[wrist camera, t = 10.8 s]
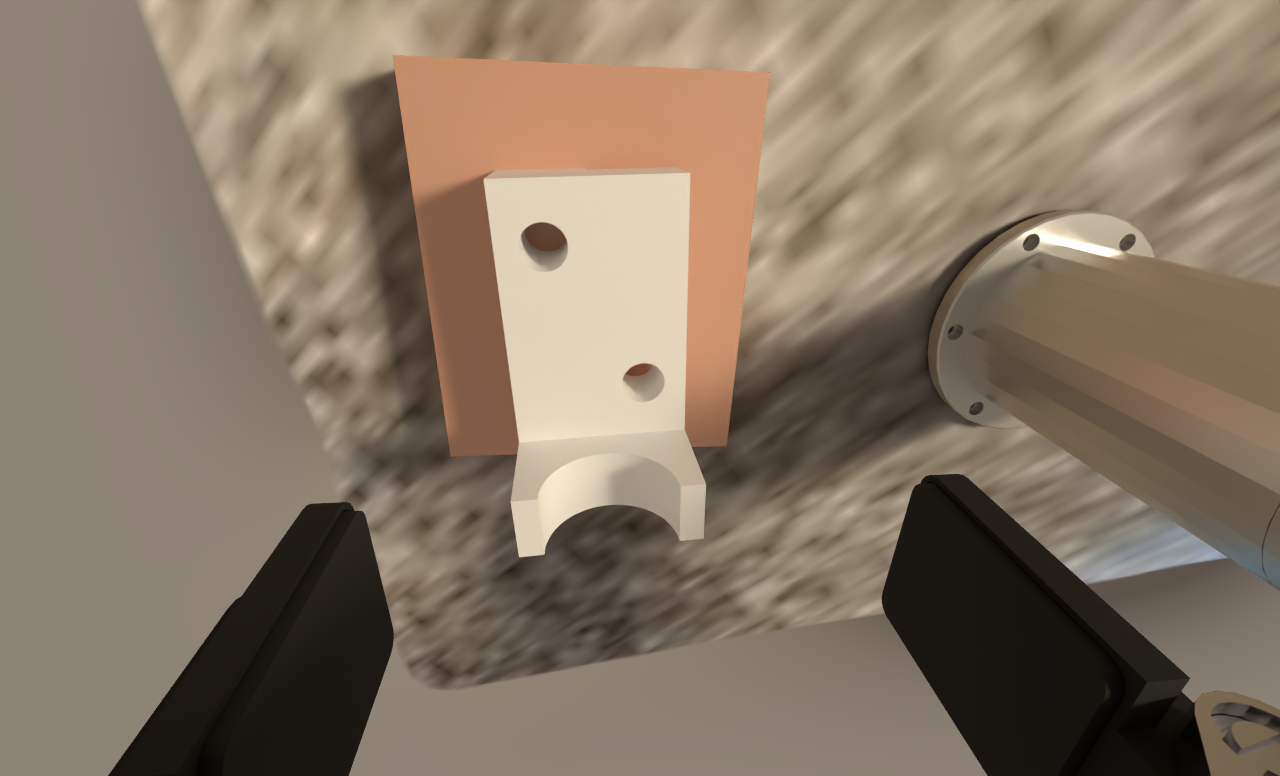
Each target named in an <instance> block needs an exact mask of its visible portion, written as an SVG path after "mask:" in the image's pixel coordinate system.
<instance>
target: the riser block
mask: <svg viewBox="0 0 1280 776" xmlns="http://www.w3.org/2000/svg"><path fill="white" fill-rule="evenodd" d="M393 61H394V68H395V75H396V82H397V89H398V96H399V103H400V110H401V117H402V124H403V131H404V137H405V144H406V151H407V158H408V165H409V172H410V179H411V186H412V193H413V200H414V207H415V214H416V221H417V228H418V234H419V241H420V248H421V255H422V262H423V269H424V276H425V283H426V290H427V297H428V304H429V311H430V318H431V325H432V331H433V338H434V345H435V352H436V359H437V366H438V373H439V380H440V387H441V394H442V401H443V408H444V415H445V422H446V429H447V435H448V442H449V449H450V456H451V457H462V456H487V455H513V454H517V453H518V446H519V438H518V431H517V424H516V416H515V409H514V402H513V394H512V387H511V379H510V372H509V365H508V357H507V350H506V342H505V335H504V328H503V320H502V313H501V305H500V298H499V291H498V283H497V276H496V268H495V261H494V254H493V246H492V239H491V231H490V224H489V217H488V209H487V202H486V195H485V187H484V180H483V179H484V178H485V177H487V176H488V175H490V174H491V173H492V172H494V171H495V170H527V169H564V168H586V170H596V169H631V168H667V167H677V168H680V169H682V170H685V171H687V172H690V211H689V255H688V300H687V344H686V389H685V432H686V434H687V437H688V439H689V442H690V444H691V447H714V446H727V439H728V431H729V422H730V413H731V405H732V396H733V387H734V379H735V370H736V361H737V353H738V344H739V336H740V327H741V318H742V310H743V301H744V292H745V284H746V275H747V266H748V258H749V249H750V241H751V232H752V223H753V215H754V206H755V197H756V189H757V180H758V172H759V163H760V154H761V146H762V137H763V128H764V120H765V111H766V102H767V94H768V85H769V77H770V73H769V72H747V71H725V70H704V69H682V68H660V67H638V66H617V65H595V64H573V63H551V62H529V61H508V60H486V59H464V58H442V57H421V56H399V55H393ZM525 235H526V238H527V240H528V241H529V243H530V244H531V245H532V246H533V247H535V248H536V249H538V250H541V251H553V250H556V249H558V248H559V247H561V246H562V245H563V243H564V242H565V240H566V237H565V235H564V234H563V232H562V231H561V230H560V229H559V228H558V227H556V226H555V225H553V224H550V223H546V222H538V223H534V224H531V225H530V226H528V227H527V228H526V229H525ZM652 367H653V365H652V364H648V363H641V364H637V365H635V366H633V367H631V368H630V369H629V370H628V371H627V372H626V373H625V374H627V375H630V376H640V375H643V374H645V373H647V372H648V371H649V370H650V369H651V368H652Z"/></svg>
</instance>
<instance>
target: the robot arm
mask: <svg viewBox="0 0 1280 776" xmlns="http://www.w3.org/2000/svg"><path fill="white" fill-rule="evenodd" d="M928 363H929V372H930V375H931V378H932V381H933V384H934V387H935V388H936V390H937V392H938V393H939V395H940V396H941V398H942V400H944V401H945V402H946V403H947V404H948V405H949V406H950V407H951V408H952V409H953V410H954V411H956V412H957V413H959V414H960V415H961V416H963V417H964V418H966V419H967V420H969V421H972V422H974V423H977V424H979V425H982V426H986V427H992V428H999V429H1007V428H1021V427H1026V426H1029V427H1030V428H1032V429H1033V430H1035V431H1036V432H1038V433H1039V434H1041V435H1042V436H1044V437H1045V438H1047V439H1049V440H1050V441H1052V442H1053V443H1055V444H1056V445H1058V446H1059V447H1061V448H1062V449H1064V450H1065V451H1067V452H1068V453H1070V454H1071V455H1073V456H1074V457H1076V458H1077V459H1079V460H1080V461H1082V462H1083V463H1085V464H1087V465H1088V466H1090V467H1091V468H1093V469H1094V470H1096V471H1097V472H1099V473H1100V474H1102V475H1103V476H1105V477H1106V478H1108V479H1109V480H1111V481H1112V482H1114V483H1115V484H1117V485H1118V486H1120V487H1121V488H1123V489H1125V490H1126V491H1128V492H1129V493H1131V494H1132V495H1134V496H1135V497H1137V498H1138V499H1140V500H1141V501H1143V502H1144V503H1146V504H1147V505H1149V506H1150V507H1152V508H1153V509H1155V510H1156V511H1158V512H1159V513H1161V514H1163V515H1164V516H1166V517H1167V518H1169V519H1170V520H1172V521H1173V522H1175V523H1176V524H1178V525H1179V526H1181V527H1182V528H1184V529H1185V530H1187V531H1188V532H1190V533H1191V534H1193V535H1194V536H1196V537H1198V538H1199V539H1201V540H1202V541H1204V542H1205V543H1207V544H1208V545H1210V546H1211V547H1213V548H1214V549H1216V550H1217V551H1219V552H1220V553H1222V554H1223V555H1225V556H1226V557H1228V558H1229V559H1231V560H1233V561H1235V562H1236V563H1238V564H1239V565H1241V566H1242V567H1243V568H1245V569H1246V570H1248V571H1249V572H1251V573H1253V574H1254V575H1256V576H1257V577H1259V578H1261V579H1262V580H1263V581H1265V582H1267V583H1268V584H1270V585H1271V586H1273V587H1274V588H1276V589H1277V590H1279V591H1280V287H1278V286H1274V285H1270V284H1265V283H1261V282H1256V281H1252V280H1248V279H1243V278H1239V277H1235V276H1230V275H1226V274H1222V273H1217V272H1213V271H1208V270H1204V269H1200V268H1195V267H1191V266H1187V265H1182V264H1178V263H1174V262H1169V261H1165V260H1160V259H1156V258H1155V256H1154V253H1153V250H1152V247H1151V245H1150V244H1149V242H1148V241H1147V239H1146V238H1145V236H1144V235H1143V233H1142V232H1141V231H1140V230H1139V229H1138V228H1136V227H1135V226H1134V225H1133V224H1131V223H1130V222H1129V221H1128V220H1125V219H1123V218H1120V217H1118V216H1115V215H1113V214H1110V213H1105V212H1099V211H1093V210H1087V209H1064V210H1059V211H1054V212H1049V213H1044V214H1041V215H1039V216H1036V217H1034V218H1031V219H1029V220H1026V221H1024V222H1021V223H1019V224H1018V225H1016V226H1014V227H1013V228H1011V229H1009V230H1007V231H1006V232H1004V233H1002V234H1001V235H999V236H998V237H997V238H995V239H994V240H993V241H992V242H990V243H989V244H988V245H987V246H985V247H984V248H983V249H982V250H980V251H979V252H978V253H977V254H976V255H975V256H974V258H973V259H972V260H971V261H970V262H969V263H968V264H967V265H966V266H965V267H964V268H963V269H962V270H961V272H960V273H959V275H958V276H957V277H956V279H955V280H954V282H953V283H952V285H951V286H950V287H949V289H948V290H947V292H946V294H945V296H944V298H943V300H942V302H941V304H940V306H939V308H938V310H937V312H936V316H935V319H934V322H933V325H932V328H931V331H930V338H929V346H928ZM882 605H883V609H884V612H885V614H886V616H887V618H888V619H889V621H890V623H891V624H892V625H893V627H894V629H895V630H896V632H897V634H898V635H899V637H900V638H901V640H902V641H903V643H904V644H905V646H906V648H907V649H908V651H909V652H910V654H911V656H912V657H913V659H914V660H915V662H916V663H917V665H918V667H919V668H920V670H921V671H922V673H923V675H924V676H925V678H926V679H927V681H928V682H929V684H930V686H931V687H932V688H933V690H934V692H935V693H936V695H937V697H938V698H939V700H940V701H941V703H942V704H943V706H944V708H945V709H946V711H947V712H948V714H949V716H950V717H951V718H952V720H953V722H954V723H955V725H956V726H957V728H958V730H959V731H960V733H961V734H962V736H963V738H964V739H965V741H966V742H967V744H968V745H969V747H970V749H971V750H972V752H973V753H974V755H975V756H976V758H977V760H978V761H979V763H980V764H981V766H982V768H983V769H984V771H985V772H986V774H987V776H1280V710H1279V709H1277V708H1275V707H1272V706H1270V705H1268V704H1266V703H1264V702H1262V701H1259V700H1256V699H1254V698H1250V697H1247V696H1244V695H1240V694H1238V693H1232V692H1224V691H1212V692H1207V693H1202V694H1201V695H1200V696H1199V697H1198V699H1197V700H1196V701H1195V702H1194V703H1193V702H1192V701H1191V700H1190V699H1189V698H1188V697H1187V696H1185V695H1184V694H1183V693H1182V692H1181V691H1182V689H1183V688H1184V686H1185V685H1186V684H1187V682H1188V681H1189V679H1190V678H1189V677H1188V676H1187V675H1186V674H1185V673H1184V672H1182V671H1181V670H1180V669H1179V668H1178V667H1177V666H1176V665H1175V664H1174V663H1173V662H1171V661H1170V660H1169V659H1168V658H1167V657H1166V656H1165V655H1164V654H1163V653H1161V652H1160V651H1159V650H1158V649H1157V648H1156V647H1155V646H1154V645H1152V644H1151V643H1150V642H1149V641H1148V640H1147V639H1146V638H1145V637H1144V636H1142V635H1141V634H1140V633H1139V632H1138V631H1137V630H1136V629H1135V628H1134V627H1133V626H1131V625H1130V624H1129V623H1128V622H1127V621H1126V620H1125V619H1124V618H1123V617H1121V616H1120V615H1119V614H1118V613H1117V612H1116V611H1115V610H1114V609H1113V608H1111V607H1110V606H1109V605H1108V604H1107V603H1106V602H1105V601H1104V600H1102V599H1101V598H1100V597H1099V596H1098V595H1097V594H1096V593H1095V592H1094V591H1093V590H1091V589H1090V588H1089V587H1088V586H1087V585H1086V584H1085V583H1084V582H1083V581H1081V580H1080V579H1079V578H1078V577H1077V576H1076V575H1075V574H1074V573H1073V572H1071V571H1070V570H1069V569H1068V568H1067V567H1066V566H1065V565H1064V564H1063V563H1061V562H1060V561H1059V560H1058V559H1057V558H1056V557H1055V556H1054V555H1053V554H1051V553H1050V552H1049V551H1048V550H1047V549H1046V548H1045V547H1044V546H1043V545H1041V544H1040V543H1039V542H1038V541H1037V540H1036V539H1035V538H1034V537H1033V536H1031V535H1030V534H1029V533H1028V532H1027V531H1026V530H1025V529H1024V528H1023V527H1021V526H1020V525H1019V524H1018V523H1017V522H1016V521H1015V520H1014V519H1013V518H1011V517H1010V516H1009V515H1008V514H1007V513H1006V512H1005V511H1004V510H1003V509H1001V508H1000V507H999V506H998V505H997V504H996V503H995V502H994V501H993V500H991V499H990V498H989V497H988V496H987V495H986V494H985V493H984V492H983V491H981V490H980V489H979V488H978V487H977V486H976V485H975V484H974V483H973V482H971V481H970V480H969V479H968V478H967V477H965V476H964V475H960V474H946V475H929V476H926V477H924V478H923V479H922V481H921V483H920V484H918V485H916V486H915V487H914V489H913V491H912V494H911V497H910V501H909V504H908V508H907V511H906V514H905V518H904V521H903V525H902V528H901V532H900V535H899V538H898V542H897V545H896V549H895V552H894V555H893V559H892V562H891V566H890V569H889V573H888V576H887V579H886V583H885V586H884V590H883V593H882ZM393 639H394V633H393V626H392V622H391V618H390V614H389V610H388V606H387V602H386V598H385V594H384V589H383V585H382V581H381V577H380V573H379V569H378V565H377V561H376V557H375V553H374V549H373V545H372V541H371V537H370V532H369V528H368V524H367V520H366V517H365V514H364V513H363V512H362V511H354V509H353V506H352V505H351V504H350V503H347V502H340V503H320V504H309V505H307V506H306V507H305V508H304V509H303V510H302V512H301V513H300V514H299V516H298V517H297V519H296V520H295V521H294V523H293V524H292V526H291V527H290V529H289V530H288V531H287V533H286V534H285V536H284V537H283V538H282V540H281V541H280V543H279V544H278V545H277V547H276V549H275V550H274V551H273V553H272V554H271V555H270V557H269V558H268V560H267V561H266V563H265V564H264V565H263V567H262V568H261V570H260V571H259V572H258V574H257V575H256V577H255V578H254V579H253V581H252V582H251V584H250V585H249V587H248V588H247V589H246V591H245V592H244V594H243V595H242V596H241V597H240V598H238V599H236V600H235V601H234V603H233V604H232V605H231V606H230V607H229V608H228V609H227V611H226V612H225V613H224V615H223V616H222V618H221V619H220V621H219V622H218V623H217V625H216V626H215V627H214V629H213V630H212V632H211V633H210V634H209V636H208V637H207V638H206V640H205V641H204V643H203V644H202V645H201V647H200V648H199V650H198V651H197V653H196V654H195V655H194V657H193V658H192V660H191V661H190V662H189V664H188V665H187V667H186V668H185V669H184V671H183V672H182V673H181V675H180V676H179V678H178V679H177V680H176V682H175V683H174V685H173V686H172V687H171V689H170V690H169V692H168V693H167V694H166V696H165V697H164V698H163V700H162V701H161V703H160V704H159V706H158V707H157V708H156V710H155V711H154V713H153V714H152V715H151V717H150V718H149V719H148V721H147V722H146V724H145V725H144V726H143V728H142V729H141V731H140V732H139V733H138V735H137V736H136V738H135V739H134V740H133V742H132V743H131V745H130V746H129V747H128V749H127V750H126V751H125V753H124V754H123V756H122V757H121V759H120V760H119V761H118V763H117V764H116V766H115V767H114V768H113V770H112V771H111V772H110V774H109V775H108V776H349V773H350V770H351V767H352V764H353V761H354V758H355V755H356V753H357V750H358V747H359V744H360V741H361V738H362V735H363V732H364V730H365V727H366V723H367V721H368V718H369V715H370V712H371V709H372V707H373V704H374V701H375V698H376V695H377V692H378V689H379V686H380V684H381V681H382V677H383V675H384V672H385V669H386V666H387V663H388V661H389V658H390V655H391V651H392V647H393Z"/></svg>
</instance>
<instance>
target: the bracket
mask: <svg viewBox="0 0 1280 776" xmlns="http://www.w3.org/2000/svg"><path fill="white" fill-rule="evenodd" d="M483 180H484V187H485V195H486V202H487V209H488V217H489V224H490V231H491V239H492V246H493V254H494V261H495V268H496V276H497V283H498V291H499V298H500V305H501V313H502V320H503V328H504V335H505V342H506V350H507V357H508V365H509V372H510V379H511V387H512V394H513V402H514V409H515V416H516V424H517V431H518V438H519V446H518V453H517V460H516V467H515V474H514V481H513V488H512V496H511V507H512V514H513V521H514V527H515V534H516V540H517V547H518V554H519V557H527V556H537V555H544V554H545V548H546V544H547V542H548V540H549V538H550V536H551V534H552V533H553V532H554V531H555V529H556V528H557V527H558V526H559V525H560V524H562V523H563V522H564V521H565V520H567V519H568V518H570V517H572V516H573V515H575V514H577V513H579V512H582V511H584V510H587V509H590V508H594V507H599V506H605V505H628V506H635V507H639V508H643V509H646V510H649V511H651V512H653V513H655V514H657V515H659V516H660V517H662V518H663V519H665V520H666V521H667V522H668V523H669V524H670V525H671V526H672V527H673V529H674V530H675V531H676V533H677V535H678V538H679V540H680V541H686V540H696V539H704V519H705V496H706V483H705V480H704V478H703V475H702V472H701V470H700V467H699V465H698V462H697V460H696V457H695V455H694V452H693V449H692V447H691V444H690V442H689V439H688V437H687V434H686V432H685V389H686V344H687V300H688V255H689V211H690V172H687V171H685V170H682V169H680V168H677V167H667V168H631V169H596V170H586V168H564V169H527V170H495V171H494V172H492V173H491V174H490V175H488V176H487V177H485V178H484V179H483ZM538 222H546V223H550V224H553V225H555V226H556V227H558V228H559V229H560V230H561V231H562V232H563V234H564V235H565V237H566V240H565V242H564V243H563V245H562V246H561V247H559V248H558V249H556V250H553V251H541V250H538V249H536V248H535V247H533V246H532V245H531V244H530V243H529V241H528V240H527V238H526V235H525V229H526V228H527V227H528V226H530V225H531V224H534V223H538ZM641 363H648V364H652V365H653V367H652V368H651V369H650V370H649V371H648V372H647V373H645V374H643V375H640V376H630V375H627V374H625V373H626V372H627V371H628V370H629V369H630V368H631V367H633V366H635V365H637V364H641Z"/></svg>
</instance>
